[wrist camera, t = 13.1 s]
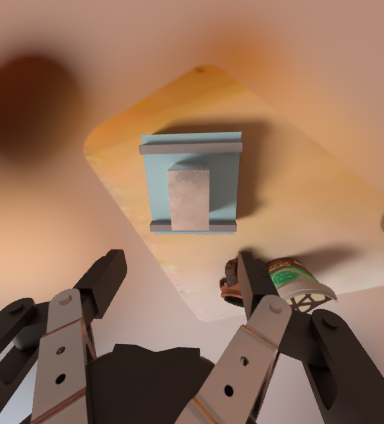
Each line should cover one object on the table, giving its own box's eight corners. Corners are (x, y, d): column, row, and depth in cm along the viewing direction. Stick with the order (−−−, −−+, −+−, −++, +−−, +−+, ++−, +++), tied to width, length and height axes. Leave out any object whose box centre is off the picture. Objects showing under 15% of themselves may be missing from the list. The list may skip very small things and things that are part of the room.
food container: (293, 242, 37) (323, 278, 27) (308, 261, 38) (341, 301, 29) (242, 272, 40) (254, 313, 31) (258, 288, 42) (273, 332, 33)
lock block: (208, 162, 27) (209, 169, 21) (208, 212, 30) (209, 230, 24) (174, 163, 27) (166, 170, 21) (177, 212, 30) (171, 230, 25)
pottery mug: (271, 273, 41) (270, 313, 36) (233, 273, 46) (228, 307, 42) (249, 244, 34) (244, 287, 30) (208, 248, 40) (198, 284, 35)
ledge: (235, 132, 29) (243, 131, 23) (230, 221, 36) (235, 238, 30) (150, 134, 30) (137, 135, 24) (160, 221, 37) (151, 238, 31)
